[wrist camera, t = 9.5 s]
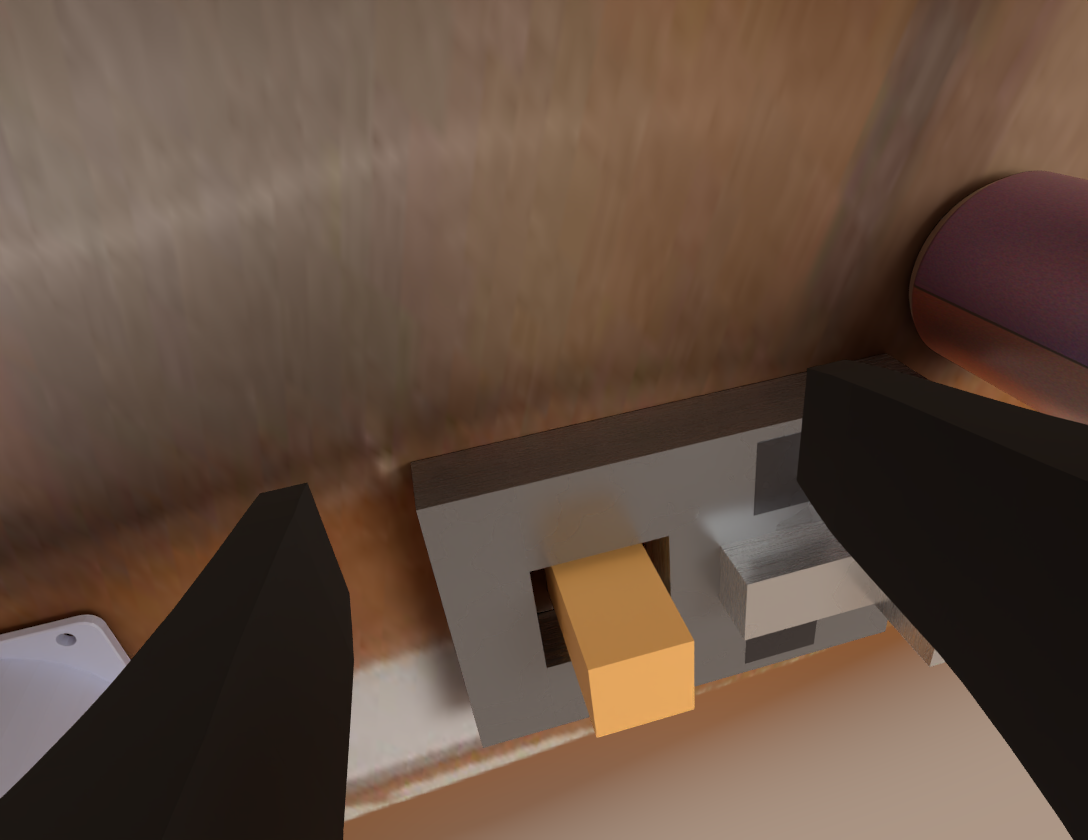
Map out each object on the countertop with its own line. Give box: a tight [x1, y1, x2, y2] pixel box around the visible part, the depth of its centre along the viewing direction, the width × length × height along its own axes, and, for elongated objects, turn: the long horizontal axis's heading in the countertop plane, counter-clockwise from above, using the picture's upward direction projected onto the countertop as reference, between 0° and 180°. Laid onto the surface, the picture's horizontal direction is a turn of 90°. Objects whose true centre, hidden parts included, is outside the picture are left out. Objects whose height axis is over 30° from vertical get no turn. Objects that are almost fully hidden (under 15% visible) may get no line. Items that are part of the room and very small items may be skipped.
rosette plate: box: [411, 353, 928, 748], centre depth 23 cm, size 16×11×2 cm
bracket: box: [719, 520, 945, 667], centre depth 21 cm, size 6×2×4 cm, turn 97°
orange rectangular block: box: [545, 543, 694, 737], centre depth 21 cm, size 3×3×6 cm
